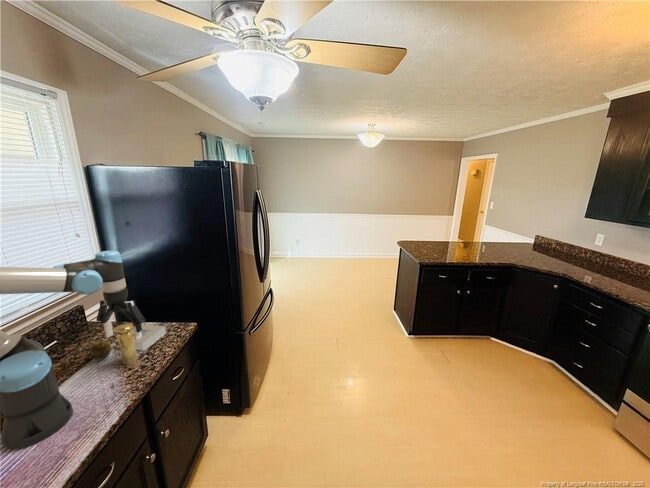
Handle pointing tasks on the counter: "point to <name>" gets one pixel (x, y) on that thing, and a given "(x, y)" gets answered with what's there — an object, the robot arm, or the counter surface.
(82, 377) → the counter surface
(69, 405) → the robot arm
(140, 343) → the housing
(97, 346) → the potato
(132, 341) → the gold tall flared cylinder
